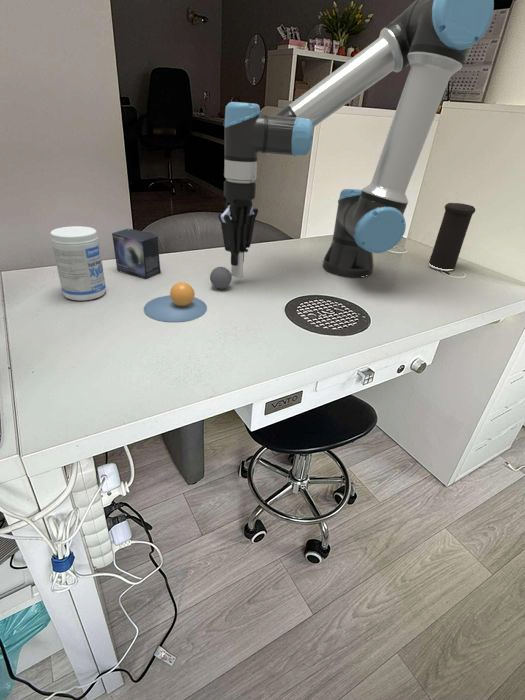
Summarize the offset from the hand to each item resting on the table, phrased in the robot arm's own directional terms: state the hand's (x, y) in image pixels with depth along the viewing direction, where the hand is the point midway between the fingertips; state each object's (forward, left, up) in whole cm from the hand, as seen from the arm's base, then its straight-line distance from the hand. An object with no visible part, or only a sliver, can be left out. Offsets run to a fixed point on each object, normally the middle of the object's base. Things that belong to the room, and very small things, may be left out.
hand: (236, 275), depth 103 cm
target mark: (0, +22, -2) cm, 22 cm away
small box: (+24, +13, -2) cm, 27 cm away
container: (-39, -58, -2) cm, 70 cm away
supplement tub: (+21, +31, -2) cm, 38 cm away
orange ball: (0, +20, +1) cm, 20 cm away
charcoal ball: (+1, +6, +1) cm, 6 cm away
